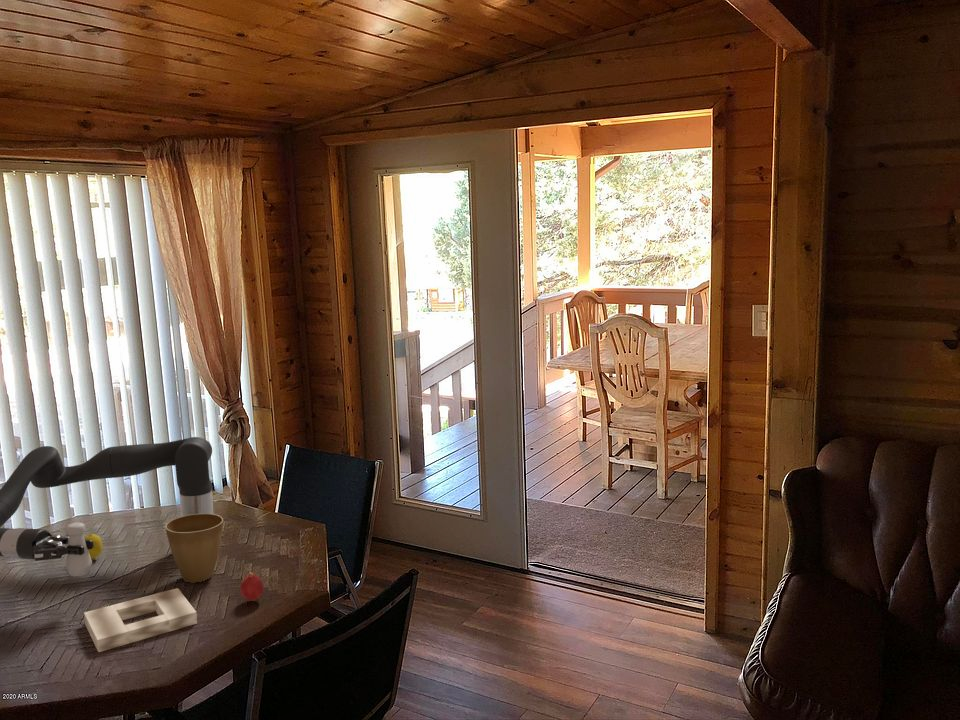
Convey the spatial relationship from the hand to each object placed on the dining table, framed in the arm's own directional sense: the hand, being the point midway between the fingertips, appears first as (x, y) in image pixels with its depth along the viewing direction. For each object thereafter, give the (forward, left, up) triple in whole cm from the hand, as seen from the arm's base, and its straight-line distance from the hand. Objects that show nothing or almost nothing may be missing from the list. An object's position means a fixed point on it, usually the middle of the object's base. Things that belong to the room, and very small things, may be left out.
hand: (87, 547), depth 192 cm
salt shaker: (+2, -2, -7) cm, 8 cm away
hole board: (-8, +16, -16) cm, 24 cm away
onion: (-34, +21, -16) cm, 43 cm away
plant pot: (-27, -2, -16) cm, 32 cm away
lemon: (-6, -32, -16) cm, 37 cm away
